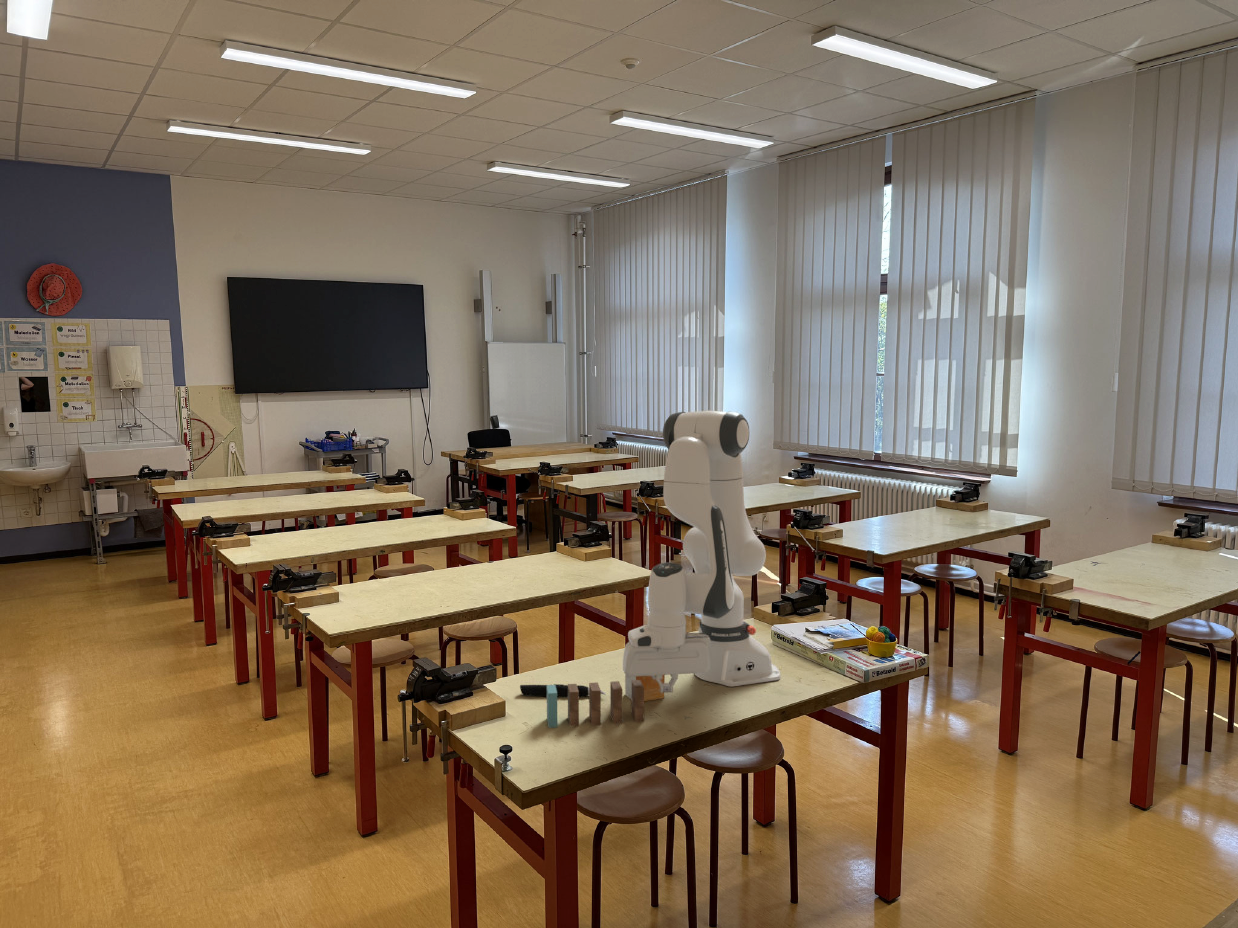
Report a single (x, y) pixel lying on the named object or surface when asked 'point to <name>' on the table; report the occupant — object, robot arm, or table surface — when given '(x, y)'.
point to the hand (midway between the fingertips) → (666, 691)
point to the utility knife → (561, 689)
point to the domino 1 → (551, 706)
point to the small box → (645, 687)
